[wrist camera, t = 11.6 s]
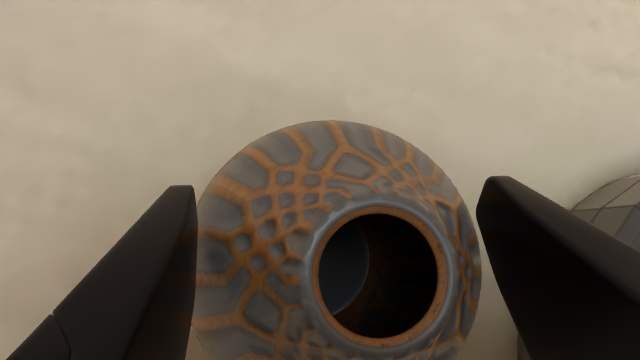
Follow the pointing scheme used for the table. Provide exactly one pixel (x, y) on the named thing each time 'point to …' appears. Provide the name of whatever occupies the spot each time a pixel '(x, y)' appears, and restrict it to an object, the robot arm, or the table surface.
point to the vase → (334, 251)
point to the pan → (610, 217)
